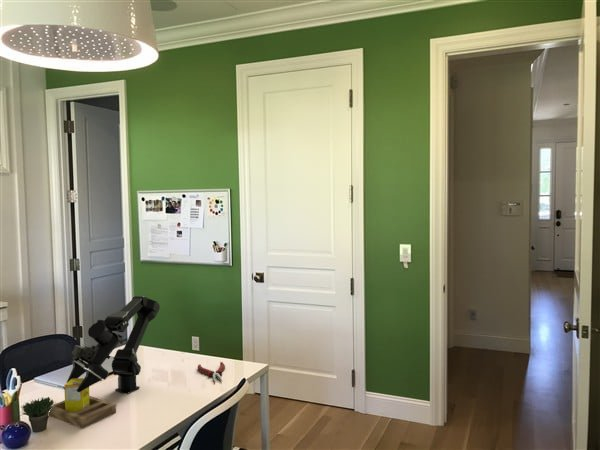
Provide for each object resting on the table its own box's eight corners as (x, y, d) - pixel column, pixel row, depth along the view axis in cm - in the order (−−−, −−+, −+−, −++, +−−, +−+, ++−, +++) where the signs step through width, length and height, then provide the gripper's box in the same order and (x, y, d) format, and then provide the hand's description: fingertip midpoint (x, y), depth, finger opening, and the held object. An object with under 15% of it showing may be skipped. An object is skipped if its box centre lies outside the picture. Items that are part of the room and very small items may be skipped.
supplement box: (90, 408, 168) (89, 377, 167) (83, 416, 162) (82, 384, 161) (72, 408, 167) (71, 377, 167) (65, 416, 161) (64, 384, 161)
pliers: (204, 386, 188) (204, 380, 188) (196, 369, 207) (196, 363, 207) (232, 383, 192) (232, 376, 192) (223, 366, 211) (223, 360, 211)
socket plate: (116, 412, 164) (115, 404, 164) (82, 428, 153) (81, 419, 153) (82, 401, 173) (82, 393, 173) (47, 415, 162) (47, 406, 162)
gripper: (76, 330, 172) (44, 368, 165) (98, 341, 159) (64, 383, 152) (99, 347, 178) (69, 384, 171) (121, 359, 165) (90, 400, 158)
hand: (72, 387), depth 163 cm, fingers open, 9 cm apart
